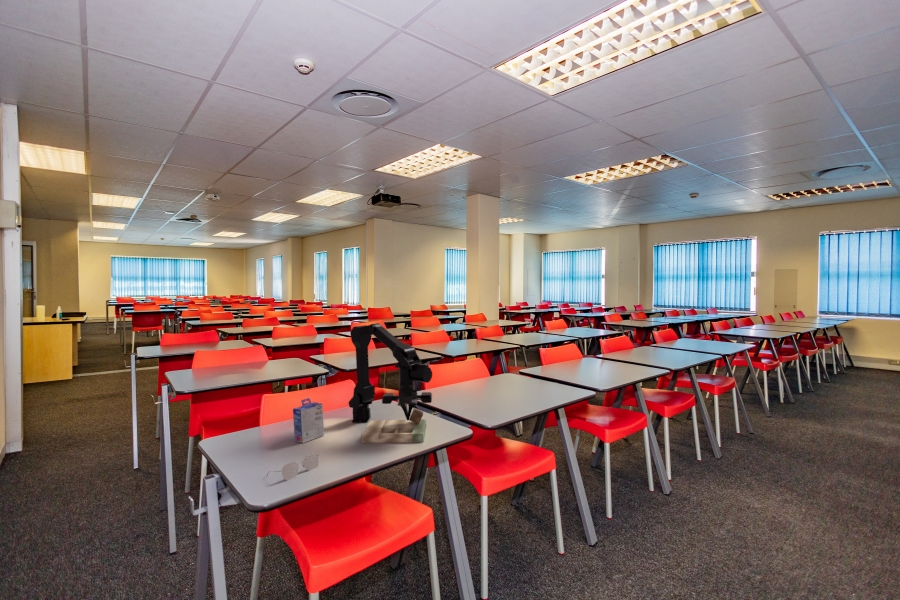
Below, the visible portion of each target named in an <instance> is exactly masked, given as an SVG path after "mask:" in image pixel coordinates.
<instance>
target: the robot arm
mask: <svg viewBox="0 0 900 600" xmlns="http://www.w3.org/2000/svg"><path fill="white" fill-rule="evenodd" d="M349 333H350V340H351V343H352V344H353V346H354V347H355V361H356V362H355V363H356V383H355V386H354V388H353V395H352V397H351V398H350V400H349V401H348V406H349V408H352V420H351V423H369V422H368V421H369V420H370V419H371V415H372V414H371V408H370V405H372V404H373V400H374V399H375V395H376V386H375V385H374V384H372V382H371V381H370V368H369V363H370V362H369V345H370V344H371V341H372V336H374V337H375V338H377V340H379V341H380V342H381V343H382V344H384V346H386V348H388V349H389V350H390V351H391V352H392V356H393V358H394V359H395V360H396V361H397V363H396V364H395V365H394V368H395V369H396V368H397V369H398V373H399V374H398V375H399V378H398V379H399V389H398V395H395V393H394V392H386V393H384V394H383V396H382V398H381V401H382V402H381V404H383V405H387V404H388V405H390V404H392V402H393V401H394V402H396V401H397V404H396V405H397V406H399V407H401V410H402V411H403V414H404V416H405V418H406V419H405V420H409V419H410V416H411V414H412V412H413V409H414V407H415V406H417V404H418V401H421V403H423V404H430V403H432V402H433V393H432V392H431V391H429V392H428V391H427V392H425V391H423V392H422V391H421V393H420V394H418V390H417V389H416V388H415V387H416V386H415V382H420V383H430V382H431V380H432V379H433V370H432V369H431V367H429V366H430V364H429V363H423V362H422V360H421V358H420V356H419V355H418V353H417V350H416V349H415V347H414V346H412V345H410V344H408V343H405V342H402V341H400V340H399V339H398V338H397V337H396V336H394V335H393V334H392V333H391V332H390V331H388V330H387V329H386V328H385V327H384V326H383V325H382V324H381V323H378V322H376V323H371V324H368V325H358V326H357V325H356V326H353V327H352V328H351V329H350V332H349Z"/></svg>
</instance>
